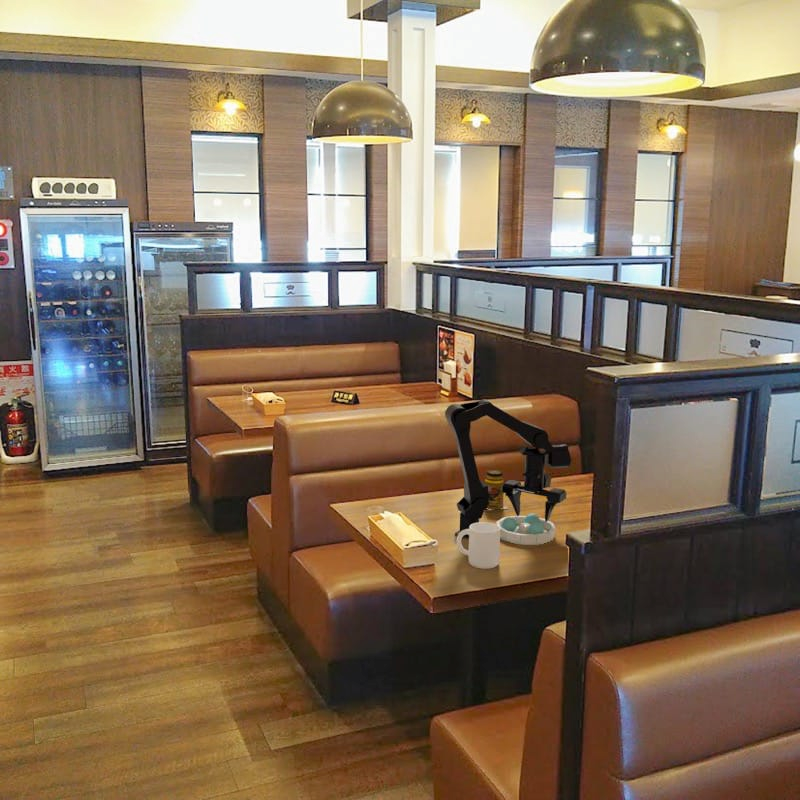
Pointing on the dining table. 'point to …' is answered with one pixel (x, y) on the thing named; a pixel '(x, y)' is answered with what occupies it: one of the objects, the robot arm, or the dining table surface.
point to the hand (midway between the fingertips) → (532, 518)
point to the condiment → (495, 489)
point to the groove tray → (527, 537)
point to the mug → (481, 544)
